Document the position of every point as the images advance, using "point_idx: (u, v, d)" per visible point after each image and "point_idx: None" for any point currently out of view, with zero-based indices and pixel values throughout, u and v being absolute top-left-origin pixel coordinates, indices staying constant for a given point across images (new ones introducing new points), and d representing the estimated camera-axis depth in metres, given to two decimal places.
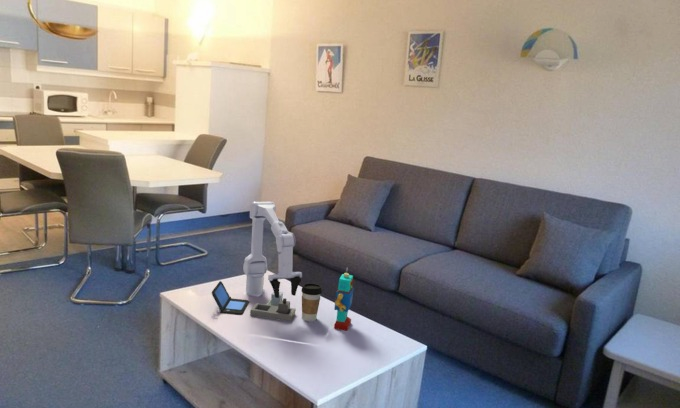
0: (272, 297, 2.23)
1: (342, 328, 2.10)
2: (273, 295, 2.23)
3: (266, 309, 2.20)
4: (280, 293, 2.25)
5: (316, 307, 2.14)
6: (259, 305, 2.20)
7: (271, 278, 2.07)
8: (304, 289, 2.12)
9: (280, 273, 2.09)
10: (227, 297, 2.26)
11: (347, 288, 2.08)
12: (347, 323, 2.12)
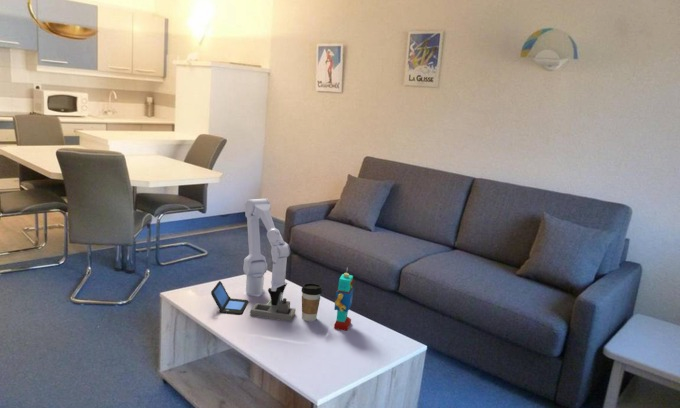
0: None
1: (342, 328, 2.10)
2: None
3: (266, 309, 2.20)
4: (280, 293, 2.25)
5: (316, 307, 2.14)
6: (259, 305, 2.20)
7: (276, 289, 2.17)
8: (304, 289, 2.12)
9: (278, 282, 2.21)
10: (226, 297, 2.26)
11: (347, 288, 2.08)
12: (347, 323, 2.12)
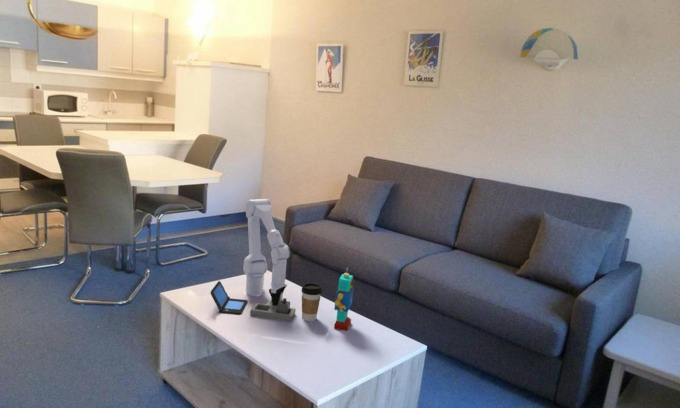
0: None
1: (342, 328, 2.10)
2: None
3: (266, 309, 2.20)
4: None
5: (316, 307, 2.14)
6: (259, 305, 2.20)
7: (275, 291, 2.17)
8: (304, 289, 2.12)
9: (278, 284, 2.21)
10: (226, 297, 2.26)
11: (347, 288, 2.08)
12: (347, 323, 2.12)
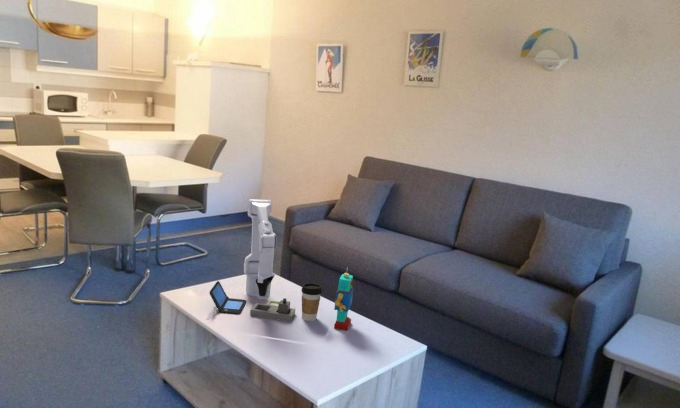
0: None
1: (342, 328, 2.10)
2: None
3: (266, 309, 2.20)
4: None
5: (316, 307, 2.14)
6: (259, 305, 2.20)
7: (262, 280, 2.08)
8: (304, 289, 2.12)
9: (265, 273, 2.12)
10: (225, 297, 2.26)
11: (347, 288, 2.08)
12: (347, 323, 2.12)
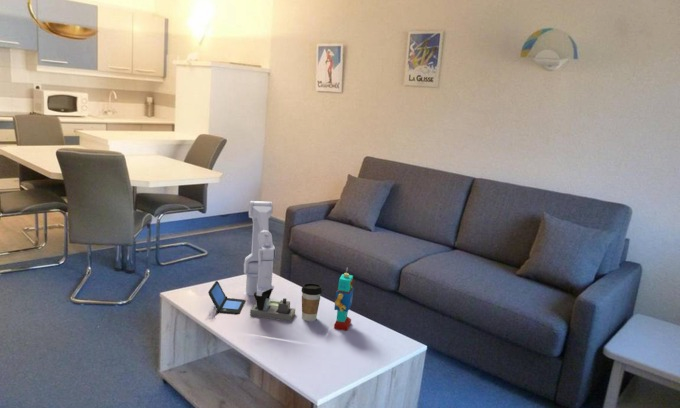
0: None
1: (342, 328, 2.10)
2: None
3: None
4: (266, 299, 2.17)
5: (316, 307, 2.14)
6: None
7: (261, 293, 2.09)
8: (304, 289, 2.12)
9: (264, 286, 2.13)
10: (223, 297, 2.26)
11: (347, 288, 2.08)
12: (347, 323, 2.12)
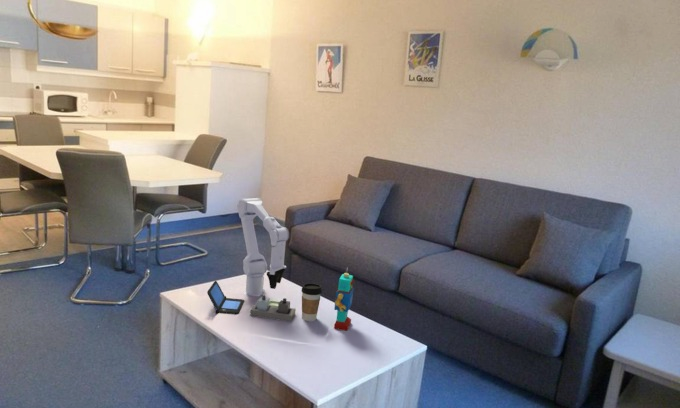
0: (258, 303, 2.15)
1: (342, 328, 2.10)
2: (259, 301, 2.15)
3: None
4: (266, 299, 2.17)
5: (316, 307, 2.14)
6: None
7: (274, 272, 2.18)
8: (304, 289, 2.12)
9: (277, 266, 2.22)
10: (222, 297, 2.26)
11: (347, 288, 2.08)
12: (347, 323, 2.12)
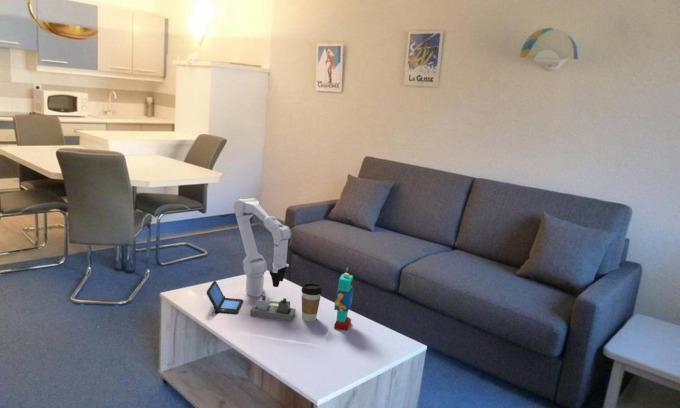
0: (258, 303, 2.15)
1: (342, 328, 2.10)
2: (259, 301, 2.15)
3: None
4: (266, 299, 2.17)
5: (316, 307, 2.14)
6: None
7: (277, 270, 2.20)
8: (304, 289, 2.12)
9: (279, 264, 2.24)
10: (221, 297, 2.25)
11: (347, 288, 2.08)
12: (347, 323, 2.12)
